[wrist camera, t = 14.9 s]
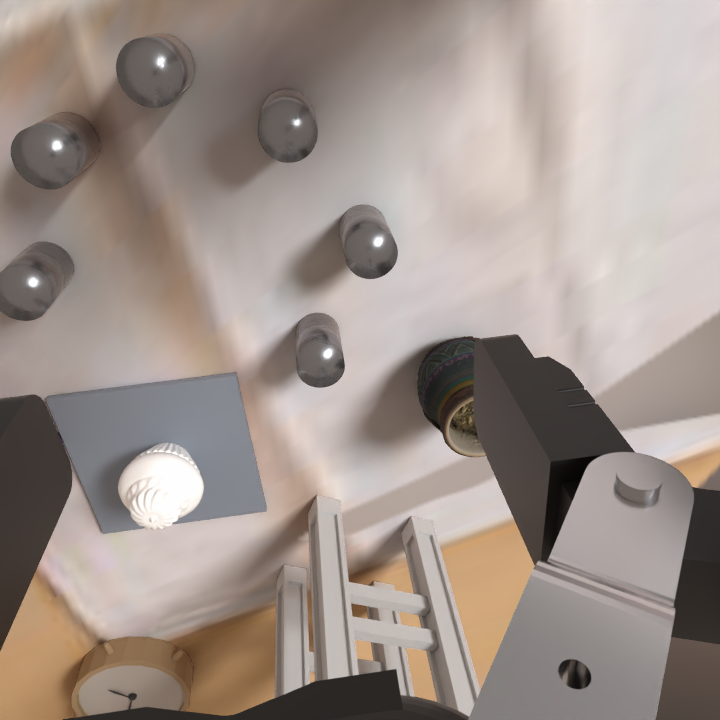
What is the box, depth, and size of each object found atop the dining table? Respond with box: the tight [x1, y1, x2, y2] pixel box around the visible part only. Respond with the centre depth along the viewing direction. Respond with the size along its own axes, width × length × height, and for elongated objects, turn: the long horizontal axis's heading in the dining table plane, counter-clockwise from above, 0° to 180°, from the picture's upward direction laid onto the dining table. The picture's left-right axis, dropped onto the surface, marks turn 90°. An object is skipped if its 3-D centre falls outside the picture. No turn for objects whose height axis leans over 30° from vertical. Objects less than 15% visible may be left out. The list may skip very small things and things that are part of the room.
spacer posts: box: [0, 34, 398, 388], centre depth 37 cm, size 24×22×5 cm
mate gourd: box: [417, 336, 486, 457], centre depth 43 cm, size 7×8×10 cm
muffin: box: [118, 442, 204, 530], centre depth 45 cm, size 6×6×7 cm
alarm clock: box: [71, 637, 194, 718], centre depth 62 cm, size 11×5×15 cm
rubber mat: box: [46, 372, 267, 534], centre depth 49 cm, size 14×14×1 cm
